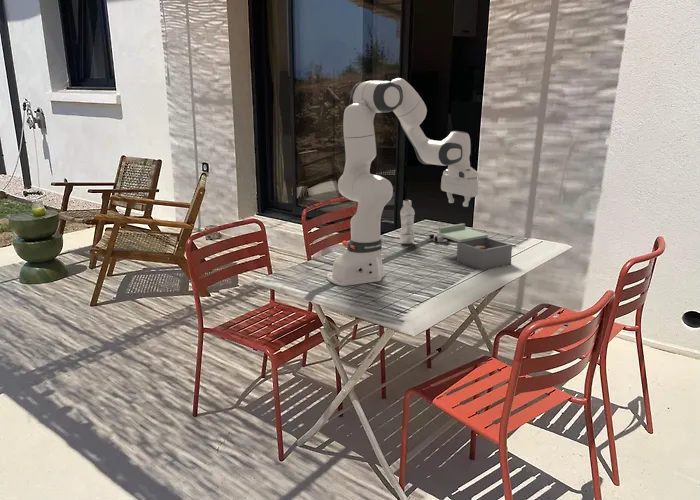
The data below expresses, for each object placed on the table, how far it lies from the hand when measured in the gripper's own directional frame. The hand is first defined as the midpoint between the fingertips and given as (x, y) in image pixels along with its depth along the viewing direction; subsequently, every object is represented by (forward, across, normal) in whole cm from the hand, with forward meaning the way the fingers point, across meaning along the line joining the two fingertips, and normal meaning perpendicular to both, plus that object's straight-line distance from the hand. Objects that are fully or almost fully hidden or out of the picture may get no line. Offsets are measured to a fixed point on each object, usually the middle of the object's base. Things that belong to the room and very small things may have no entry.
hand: (458, 204), depth 232 cm
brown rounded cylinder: (+20, +16, -2) cm, 26 cm away
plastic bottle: (+22, -25, -9) cm, 34 cm away
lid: (+13, +2, +1) cm, 13 cm away
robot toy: (+22, -21, +9) cm, 32 cm away
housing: (+21, +16, +1) cm, 26 cm away
